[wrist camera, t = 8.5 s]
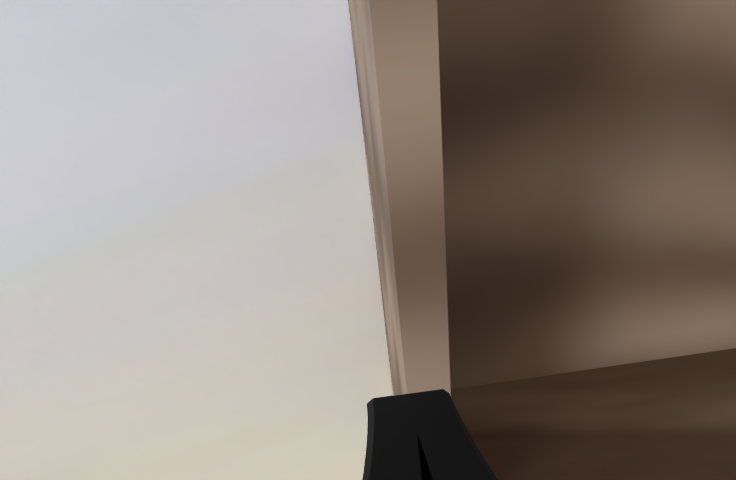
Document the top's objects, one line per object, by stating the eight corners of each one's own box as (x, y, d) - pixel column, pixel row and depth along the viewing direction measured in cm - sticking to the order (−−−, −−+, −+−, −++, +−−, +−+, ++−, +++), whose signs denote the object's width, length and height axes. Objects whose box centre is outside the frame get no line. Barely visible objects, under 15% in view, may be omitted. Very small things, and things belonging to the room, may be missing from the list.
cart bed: (769, 358, 25) (913, 516, 19) (395, 413, 24) (425, 591, 18) (1160, -647, 11) (2202, -1242, 5) (285, -553, 10) (267, -1076, 4)
